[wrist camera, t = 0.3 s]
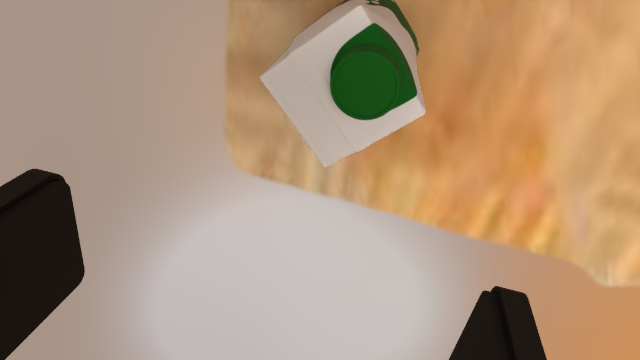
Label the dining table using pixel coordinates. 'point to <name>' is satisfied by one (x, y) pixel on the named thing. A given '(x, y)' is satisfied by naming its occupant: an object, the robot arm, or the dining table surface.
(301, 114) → the milk carton
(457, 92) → the dining table surface
